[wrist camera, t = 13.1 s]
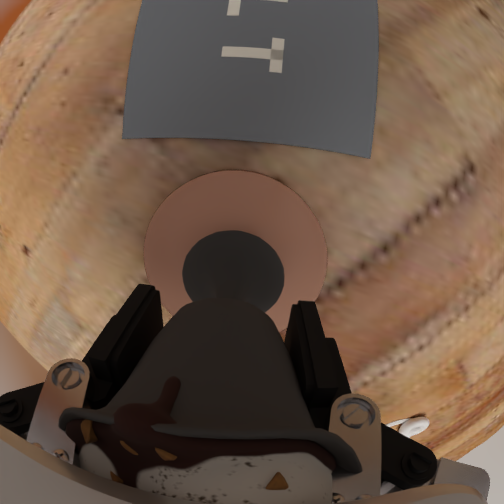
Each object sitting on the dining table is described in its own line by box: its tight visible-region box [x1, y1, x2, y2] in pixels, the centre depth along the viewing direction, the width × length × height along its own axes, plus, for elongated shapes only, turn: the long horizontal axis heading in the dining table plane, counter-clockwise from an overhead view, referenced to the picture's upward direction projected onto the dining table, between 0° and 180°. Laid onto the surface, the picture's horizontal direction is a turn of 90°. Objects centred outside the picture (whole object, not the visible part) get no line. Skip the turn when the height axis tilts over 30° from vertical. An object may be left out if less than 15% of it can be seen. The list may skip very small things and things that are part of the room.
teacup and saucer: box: [386, 417, 429, 438], centre depth 22 cm, size 9×8×4 cm
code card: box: [122, 0, 379, 159], centre depth 10 cm, size 13×13×1 cm
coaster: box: [144, 170, 327, 332], centre depth 15 cm, size 10×10×1 cm
